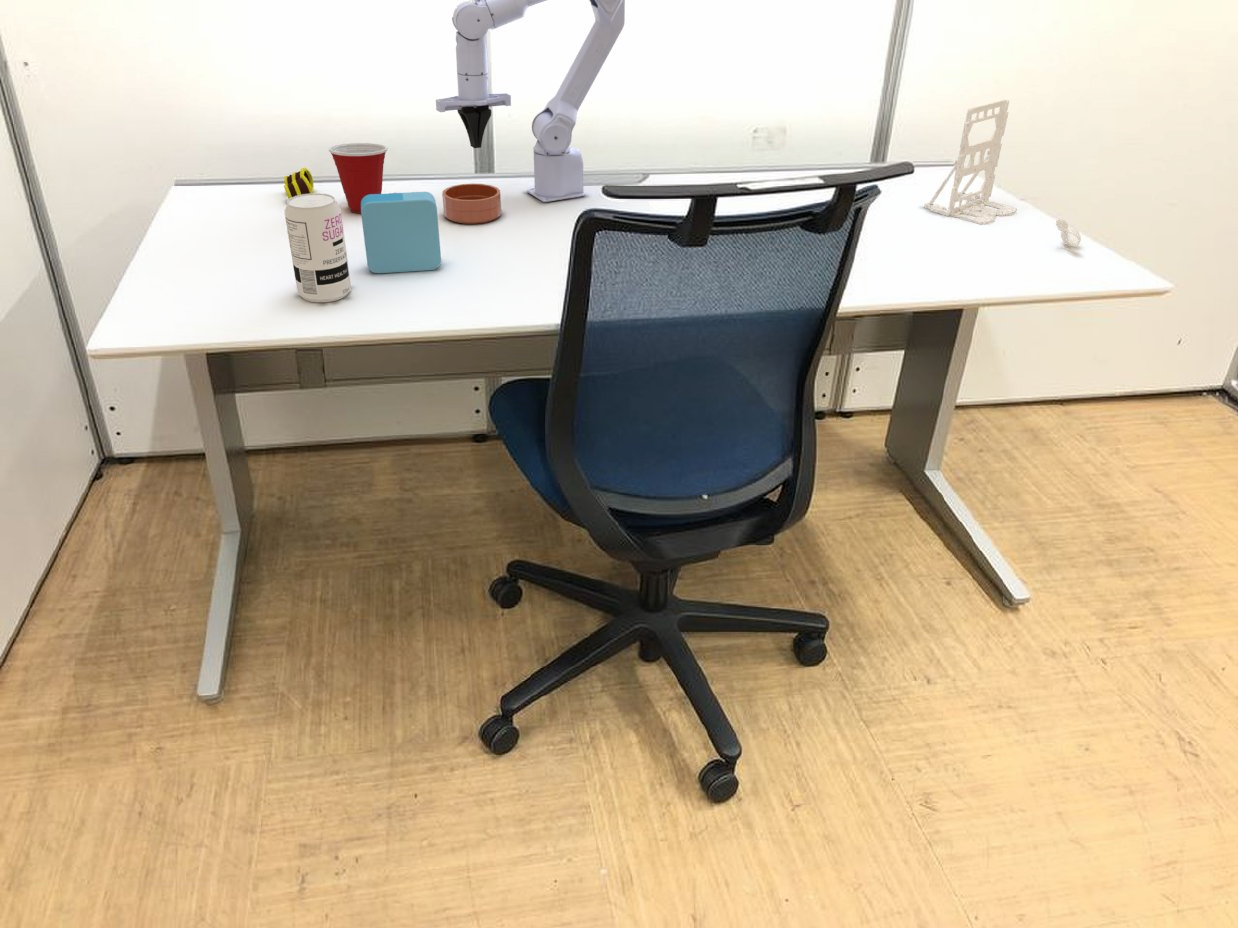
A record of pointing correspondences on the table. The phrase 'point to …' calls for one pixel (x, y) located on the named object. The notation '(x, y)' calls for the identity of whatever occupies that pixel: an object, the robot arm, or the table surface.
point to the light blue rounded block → (401, 232)
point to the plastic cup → (359, 170)
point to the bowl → (471, 203)
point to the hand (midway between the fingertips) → (475, 146)
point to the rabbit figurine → (1068, 234)
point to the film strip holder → (977, 171)
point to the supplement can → (318, 247)
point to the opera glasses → (299, 183)
